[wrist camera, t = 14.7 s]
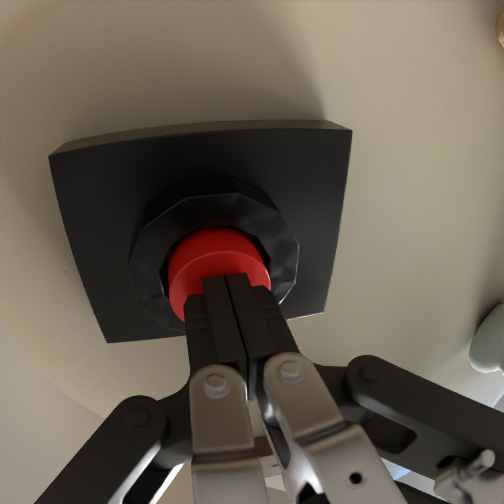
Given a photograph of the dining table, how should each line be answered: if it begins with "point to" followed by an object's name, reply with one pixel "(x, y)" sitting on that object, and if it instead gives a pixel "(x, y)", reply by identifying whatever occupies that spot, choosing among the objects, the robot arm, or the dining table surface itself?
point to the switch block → (200, 211)
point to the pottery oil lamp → (500, 28)
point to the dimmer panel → (267, 457)
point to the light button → (211, 262)
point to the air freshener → (489, 343)
